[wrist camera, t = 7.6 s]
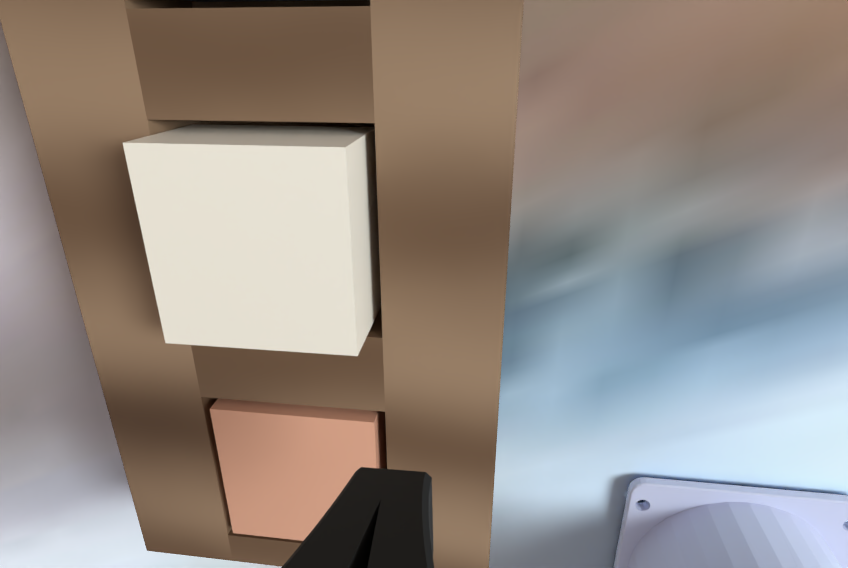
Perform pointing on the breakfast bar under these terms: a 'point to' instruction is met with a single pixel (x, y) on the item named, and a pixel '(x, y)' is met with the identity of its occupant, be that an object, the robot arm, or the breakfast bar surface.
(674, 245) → the breakfast bar surface
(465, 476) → the key panel
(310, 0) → the slate key
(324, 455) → the terracotta key
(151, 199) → the cream key
